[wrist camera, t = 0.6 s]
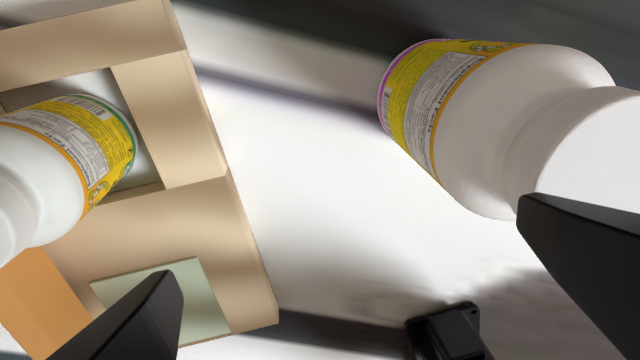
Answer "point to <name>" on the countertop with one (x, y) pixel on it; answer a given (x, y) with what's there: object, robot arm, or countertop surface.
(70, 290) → the clip bar
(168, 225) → the socket board
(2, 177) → the supplement bottle
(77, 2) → the countertop surface
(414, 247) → the countertop surface
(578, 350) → the countertop surface
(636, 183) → the supplement bottle
